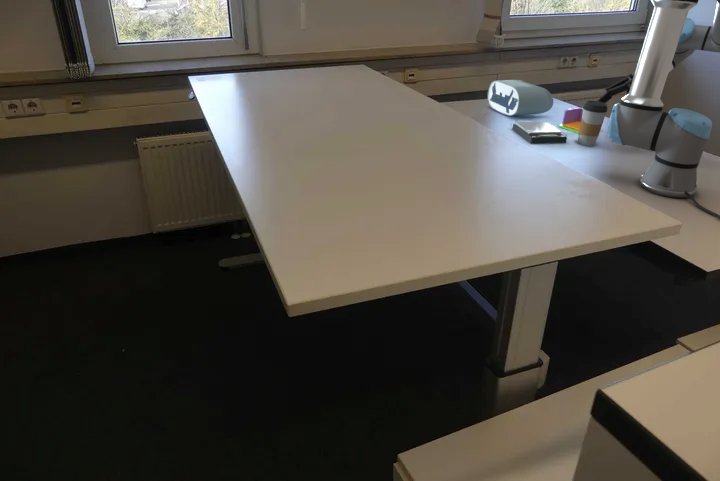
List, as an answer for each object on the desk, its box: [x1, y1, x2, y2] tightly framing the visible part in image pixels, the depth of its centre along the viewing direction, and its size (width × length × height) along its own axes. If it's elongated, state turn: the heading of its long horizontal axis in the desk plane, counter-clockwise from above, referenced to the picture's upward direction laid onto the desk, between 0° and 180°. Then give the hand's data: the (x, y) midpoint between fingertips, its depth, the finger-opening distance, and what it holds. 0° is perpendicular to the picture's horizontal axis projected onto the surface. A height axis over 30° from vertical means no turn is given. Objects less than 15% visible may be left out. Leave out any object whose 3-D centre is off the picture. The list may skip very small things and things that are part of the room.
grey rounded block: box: [486, 79, 554, 117], centre depth 230 cm, size 22×19×13 cm
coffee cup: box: [577, 100, 609, 147], centre depth 194 cm, size 8×8×15 cm
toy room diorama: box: [558, 107, 583, 134], centre depth 213 cm, size 12×12×7 cm
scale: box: [511, 121, 568, 145], centre depth 203 cm, size 17×14×3 cm
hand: (604, 112), depth 193 cm, fingers open, 13 cm apart
